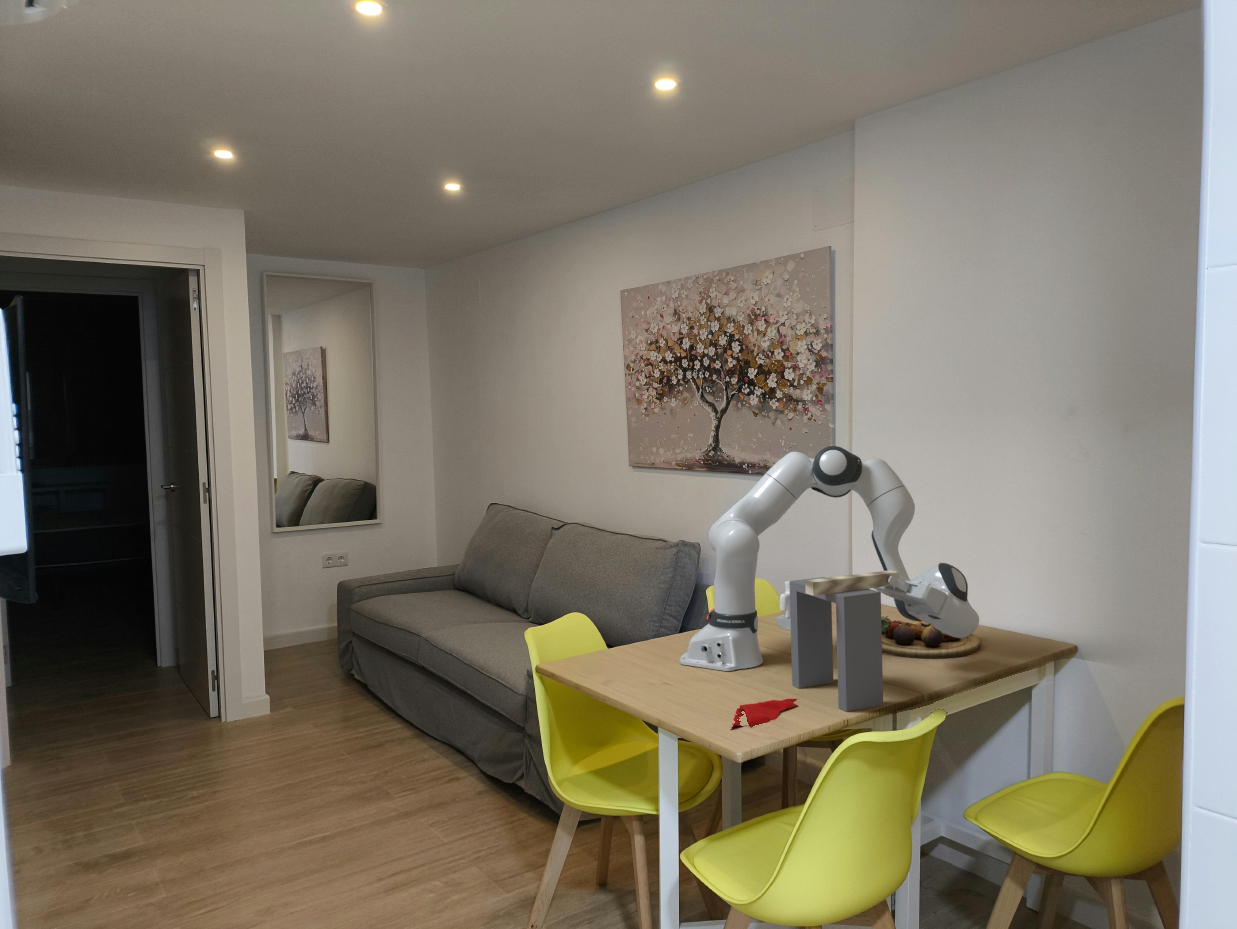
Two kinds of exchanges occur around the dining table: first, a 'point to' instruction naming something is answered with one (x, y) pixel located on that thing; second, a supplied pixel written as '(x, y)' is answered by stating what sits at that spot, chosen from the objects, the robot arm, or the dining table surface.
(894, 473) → the robot arm
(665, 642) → the dining table surface
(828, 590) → the maple bar
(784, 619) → the figurine
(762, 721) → the cloth
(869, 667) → the grey arch
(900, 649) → the wooden plate with food
